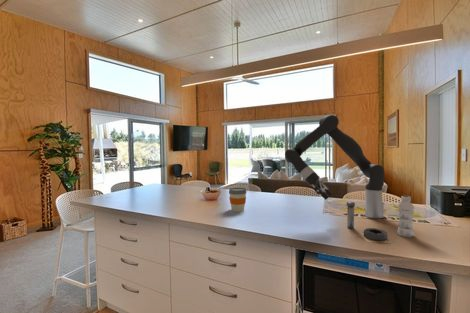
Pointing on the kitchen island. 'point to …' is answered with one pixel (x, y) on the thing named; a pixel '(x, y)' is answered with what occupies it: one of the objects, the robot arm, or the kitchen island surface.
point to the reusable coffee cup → (237, 198)
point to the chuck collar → (375, 234)
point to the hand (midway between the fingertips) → (329, 197)
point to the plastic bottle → (405, 217)
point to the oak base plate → (376, 241)
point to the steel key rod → (350, 215)
